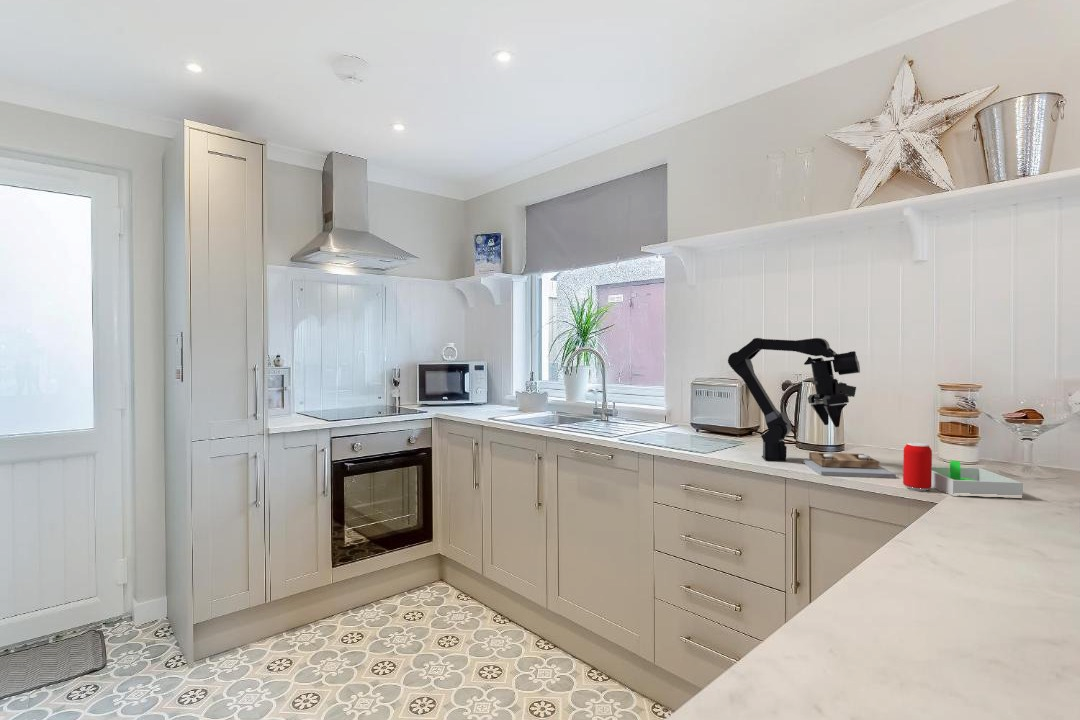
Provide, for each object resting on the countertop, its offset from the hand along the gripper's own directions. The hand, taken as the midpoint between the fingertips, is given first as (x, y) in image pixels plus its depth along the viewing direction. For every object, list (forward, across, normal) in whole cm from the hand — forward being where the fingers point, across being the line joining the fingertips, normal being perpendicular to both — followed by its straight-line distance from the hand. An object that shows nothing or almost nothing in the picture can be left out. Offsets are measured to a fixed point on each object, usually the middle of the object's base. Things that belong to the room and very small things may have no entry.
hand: (831, 425), depth 174 cm
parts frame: (+18, -24, -23) cm, 37 cm away
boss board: (+13, -4, -1) cm, 14 cm away
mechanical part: (+18, -23, -22) cm, 37 cm away
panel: (+12, -2, -1) cm, 12 cm away
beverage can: (+16, -25, -10) cm, 32 cm away
